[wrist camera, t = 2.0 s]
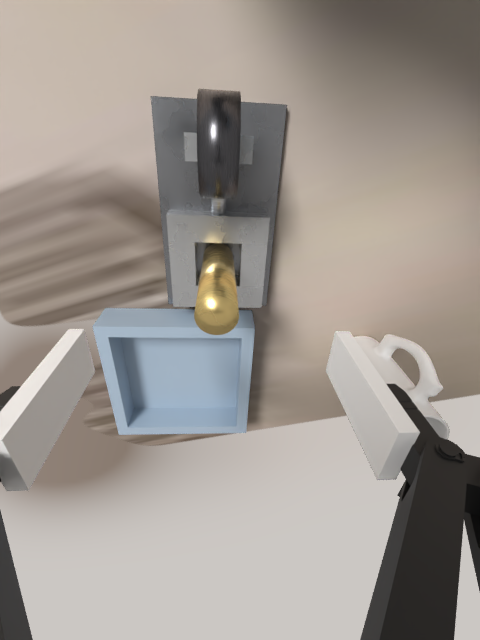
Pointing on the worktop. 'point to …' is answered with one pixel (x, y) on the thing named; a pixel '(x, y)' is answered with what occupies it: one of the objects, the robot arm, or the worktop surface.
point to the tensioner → (217, 188)
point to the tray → (175, 371)
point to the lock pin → (217, 292)
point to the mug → (395, 375)
